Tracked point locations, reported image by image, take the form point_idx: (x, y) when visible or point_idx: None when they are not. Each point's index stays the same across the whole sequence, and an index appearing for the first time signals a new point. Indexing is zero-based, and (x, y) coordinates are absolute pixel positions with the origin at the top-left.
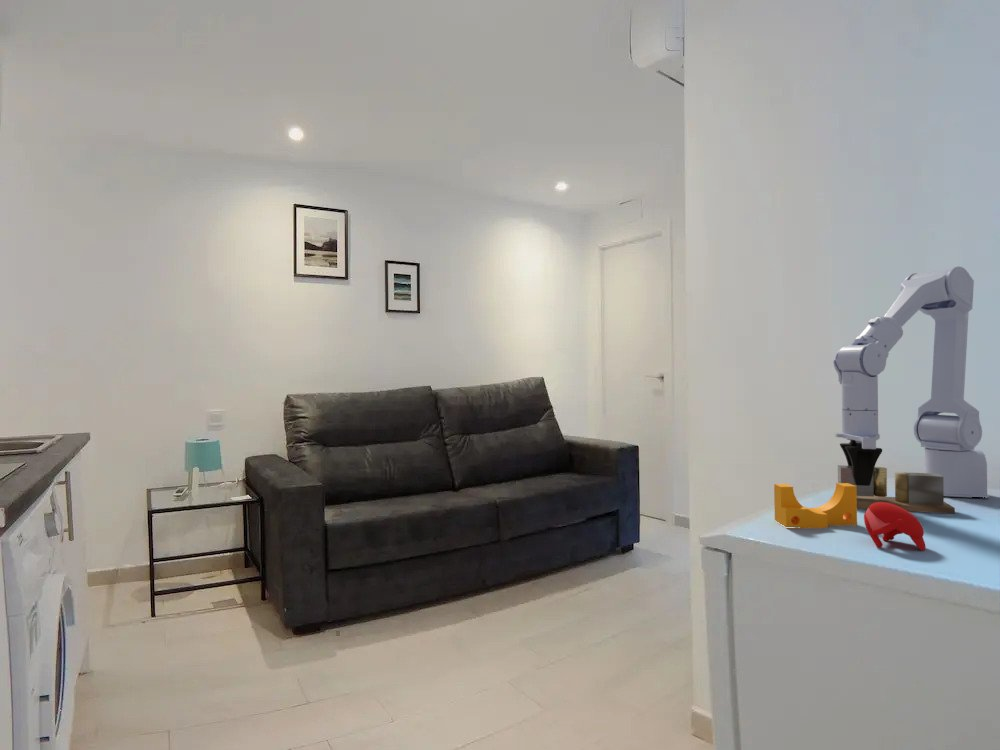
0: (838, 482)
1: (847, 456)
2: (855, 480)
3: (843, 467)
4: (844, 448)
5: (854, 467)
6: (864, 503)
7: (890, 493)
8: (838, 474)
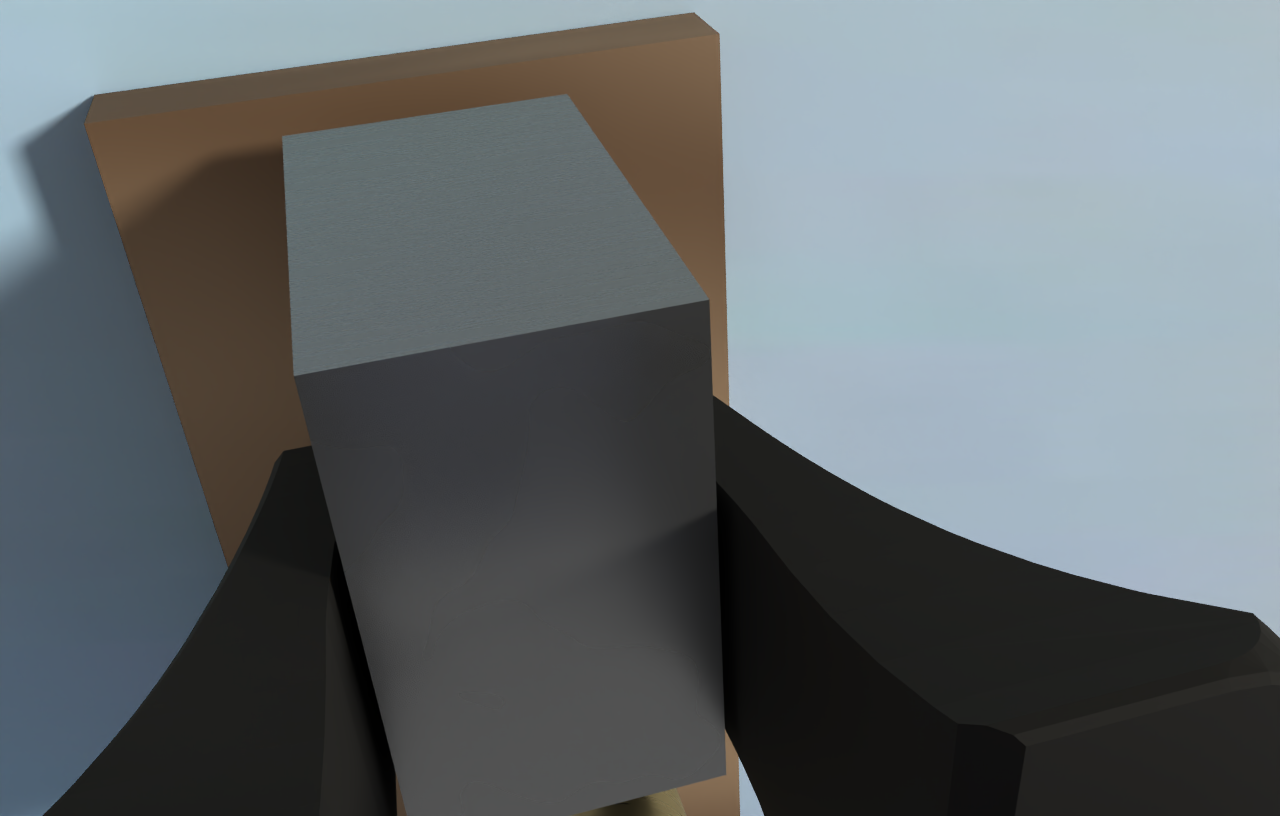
0: (552, 162)
1: (821, 614)
2: (268, 483)
3: (388, 425)
4: (913, 724)
5: (179, 661)
6: (174, 400)
7: (1178, 557)
8: (578, 228)
